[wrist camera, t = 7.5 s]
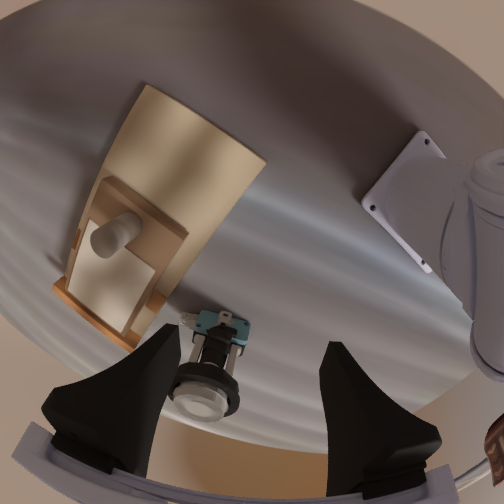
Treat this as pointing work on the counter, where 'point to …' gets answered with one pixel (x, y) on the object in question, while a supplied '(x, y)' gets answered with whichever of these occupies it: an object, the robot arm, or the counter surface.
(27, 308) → the counter surface
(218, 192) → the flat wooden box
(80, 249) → the carriage
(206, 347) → the push button
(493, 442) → the pottery
